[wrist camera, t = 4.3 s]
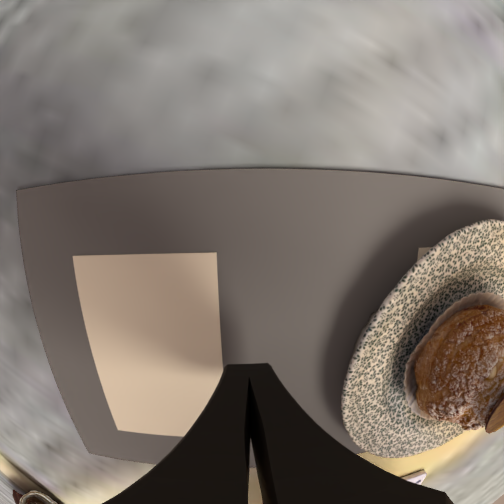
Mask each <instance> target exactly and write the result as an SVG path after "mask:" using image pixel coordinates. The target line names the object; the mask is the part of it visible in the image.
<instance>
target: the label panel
mask: <svg viewBox="0 0 504 504" xmlns="http://www.w3.org/2000/svg"><path fill="white" fill-rule="evenodd" d="M16 194H17V210H18V222H19V232H20V240H21V248H22V255H23V261H24V267H25V273H26V278H27V283H28V288H29V293H30V297H31V302H32V306H33V310H34V314H35V318H36V322H37V325H38V329H39V333H40V336H41V339H42V343H43V346H44V349H45V352H46V355H47V358H48V361H49V364H50V367H51V370H52V372H53V375H54V378H55V381H56V383H57V386H58V388H59V391H60V393H61V396H62V398H63V400H64V403H65V405H66V407H67V410H68V412H69V414H70V416H71V419H72V421H73V423H74V425H75V427H76V429H77V431H78V433H79V435H80V437H81V439H82V441H83V443H84V445H85V447H86V449H87V450H88V452H89V453H91V454H96V455H100V456H105V457H110V458H116V459H121V460H128V461H134V462H141V463H149V464H158V463H159V462H160V461H161V460H162V459H163V458H164V457H165V456H166V455H167V454H168V453H169V452H170V451H171V450H172V449H173V448H174V447H175V446H176V445H177V444H178V443H179V442H180V440H181V439H182V438H183V437H184V436H185V435H186V433H187V432H188V431H189V429H190V428H191V427H192V425H193V424H194V423H195V421H196V420H197V418H198V417H199V415H200V414H201V413H202V411H203V410H204V408H205V406H206V405H207V403H208V401H209V400H210V398H211V396H212V394H213V393H214V391H215V389H216V387H217V385H218V383H219V380H220V378H221V376H222V373H223V370H224V367H225V366H226V365H227V364H254V363H269V364H270V365H271V366H272V368H273V370H274V372H275V373H276V375H277V377H278V378H279V380H280V381H281V382H282V384H283V385H284V387H285V388H286V389H287V391H288V392H289V393H290V394H291V396H292V397H293V398H294V399H295V400H296V402H297V403H298V404H299V405H300V406H301V407H302V409H303V410H304V411H305V412H306V413H307V414H308V415H309V416H310V417H311V418H312V419H313V420H314V421H315V422H316V423H317V424H318V425H319V426H320V427H321V428H322V429H324V430H325V431H326V432H327V433H328V434H329V435H331V436H332V437H333V438H334V439H336V440H337V441H338V442H339V443H341V444H342V445H344V446H345V447H346V448H348V449H349V450H351V451H352V452H353V453H355V454H359V453H363V452H367V451H365V450H363V449H361V448H359V447H358V446H357V445H356V444H355V443H354V442H353V440H352V439H351V438H350V435H349V434H348V432H347V430H346V428H345V425H344V423H343V419H342V413H341V396H342V391H343V386H344V380H345V378H346V375H347V371H348V366H349V365H348V363H349V361H350V358H351V356H352V354H353V352H354V347H355V344H356V341H357V339H358V337H359V335H360V333H361V330H362V329H363V327H364V326H365V324H366V323H369V322H368V320H369V318H370V316H371V313H373V312H377V309H379V308H380V306H381V305H382V303H383V301H384V299H385V298H386V297H387V296H388V295H389V294H390V292H391V291H392V290H393V289H394V288H395V286H396V285H397V284H398V283H399V281H400V280H401V279H402V277H403V276H404V275H405V274H406V273H407V272H408V271H409V270H410V269H411V268H412V267H413V265H414V264H415V263H416V262H418V260H419V259H420V258H421V257H422V256H423V255H424V254H426V253H427V252H428V251H429V250H430V249H431V248H432V247H434V246H435V245H436V244H438V243H439V242H440V241H441V240H443V239H444V238H445V237H446V236H447V235H449V234H451V233H453V232H455V231H456V230H459V229H462V228H464V227H465V226H469V225H471V224H473V223H476V222H479V221H482V220H488V219H495V220H500V221H504V189H501V188H496V187H490V186H484V185H478V184H471V183H465V182H458V181H451V180H443V179H435V178H426V177H417V176H408V175H397V174H386V173H373V172H358V171H340V170H316V169H214V170H190V171H172V172H157V173H144V174H133V175H122V176H112V177H103V178H94V179H86V180H78V181H71V182H64V183H57V184H50V185H44V186H38V187H32V188H26V189H21V190H16ZM250 467H256V463H255V458H254V453H253V448H252V442H251V443H250V464H249V468H250Z"/></svg>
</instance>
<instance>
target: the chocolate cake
mask: <svg viewBox="0 0 504 504" xmlns="http://www.w3.org/2000/svg"><path fill="white" fill-rule="evenodd" d="M13 498H14V501H15V503H16V504H57V503H56V502H55V501H53V500H52V499H51V498H49V496H47V495H46V494H43V493H41V492H37V491H30V492H28V493H27V494H24V495H22V494H19V493H18V492H16V491H15V490H13Z"/></svg>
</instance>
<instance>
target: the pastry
mask: <svg viewBox="0 0 504 504" xmlns="http://www.w3.org/2000/svg"><path fill="white" fill-rule="evenodd" d="M368 322H369V323H366V324H365V326H364V327H363V329H362V330H361V333H360V335H359V337H358V339H357V341H356V344H355V347H354V352H353V354H352V356H351V358H350V361H349V363H348V365H349V366H348V371H347V375H346V378H345V380H344V386H343V391H342V396H341V413H342V419H343V423H344V425H345V428H346V430H347V432H348V434H349V435H350V438H351V439H352V440H353V442H354V443H355V444H356V445H357V446H358V447H359V448H361V449H363V450H365V451H367V452H369V453H371V454H373V455H376V456H379V457H385V458H402V457H408V456H412V455H416V454H419V453H422V452H425V451H428V450H431V449H434V448H436V447H439V446H441V445H443V444H445V443H446V442H448V441H449V440H451V439H453V438H454V437H456V436H458V435H460V434H462V433H463V432H464V431H466V430H471V429H472V430H477V429H480V428H481V427H485V429H486V432H488V433H492V432H495V431H497V430H498V429H500V428H501V427H503V426H504V221H500V220H495V219H488V220H482V221H479V222H476V223H473V224H471V225H469V226H465V227H464V228H462V229H459V230H456V231H455V232H453V233H451V234H449V235H447V236H446V237H445V238H444V239H443V240H441V241H440V242H439V243H438V244H436V245H435V246H434V247H432V248H431V249H430V250H429V251H428V252H427V253H426V254H424V255H423V256H422V257H421V258H420V259H419V260H418V262H416V263H415V264H414V265H413V267H412V268H411V269H410V270H409V271H408V272H407V273H406V274H405V275H404V276H403V277H402V279H401V280H400V281H399V283H398V284H397V285H396V286H395V288H394V289H393V290H392V291H391V292H390V294H389V295H388V296H387V297H386V298H385V299H384V301H383V303H382V305H381V306H380V308H379V309H377V312H373V313H371V316H370V318H369V320H368Z"/></svg>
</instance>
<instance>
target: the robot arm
mask: <svg viewBox="0 0 504 504" xmlns="http://www.w3.org/2000/svg"><path fill="white" fill-rule="evenodd" d="M251 442H252V448H253V453H254V458H255V463H256V468H257V474H258V479H259V484H260V488H261V493H262V500H263V504H454V503H453V502H452V501H451V500H450V498H449V497H448V496H447V494H446V493H445V492H442V491H439V490H435V489H432V488H428V487H425V486H422V485H420V484H421V483H422V481H423V480H424V478H425V477H426V475H427V474H426V472H425V470H422V471H419V472H416V473H413V474H410V475H408V476H405V477H402V478H400V477H398V476H395V475H393V474H391V473H389V472H387V471H384V470H382V469H381V468H379V467H377V466H375V465H374V464H372V463H370V462H368V461H367V460H365V459H363V458H361V457H360V456H358V455H356V454H355V453H353V452H352V451H351V450H349V449H348V448H346V447H345V446H344V445H342V444H341V443H339V442H338V441H337V440H336V439H334V438H333V437H332V436H331V435H329V434H328V433H327V432H326V431H325V430H324V429H322V428H321V427H320V426H319V425H318V424H317V423H316V422H315V421H314V420H313V419H312V418H311V417H310V416H309V415H308V414H307V413H306V412H305V411H304V410H303V409H302V407H301V406H300V405H299V404H298V403H297V402H296V400H295V399H294V398H293V397H292V396H291V394H290V393H289V392H288V391H287V389H286V388H285V387H284V385H283V384H282V382H281V381H280V380H279V378H278V377H277V375H276V373H275V372H274V370H273V368H272V366H271V365H270V364H269V363H254V364H227V365H226V366H225V367H224V370H223V373H222V376H221V378H220V380H219V383H218V385H217V387H216V389H215V391H214V393H213V394H212V396H211V398H210V400H209V401H208V403H207V405H206V406H205V408H204V410H203V411H202V413H201V414H200V415H199V417H198V418H197V420H196V421H195V423H194V424H193V425H192V427H191V428H190V429H189V431H188V432H187V433H186V435H185V436H184V437H183V438H182V439H181V440H180V442H179V443H178V444H177V445H176V446H175V447H174V448H173V449H172V450H171V451H170V452H169V453H168V454H167V455H166V456H165V457H164V458H163V459H162V460H161V461H160V462H159V463H158V464H157V465H156V466H155V467H154V468H153V469H151V470H150V471H149V472H148V473H147V474H145V475H144V476H143V477H142V478H140V479H139V480H138V481H136V482H135V483H133V484H132V485H131V486H129V487H128V488H127V489H125V490H124V491H122V492H121V493H119V494H118V495H116V496H115V497H113V498H111V499H110V500H108V501H106V502H104V503H102V504H248V484H249V464H250V443H251Z"/></svg>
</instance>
